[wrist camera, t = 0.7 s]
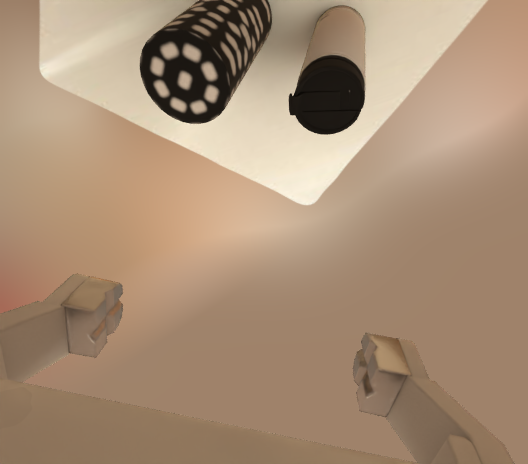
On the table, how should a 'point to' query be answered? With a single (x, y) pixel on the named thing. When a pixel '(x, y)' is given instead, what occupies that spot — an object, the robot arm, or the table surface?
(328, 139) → the table surface
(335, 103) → the travel mug
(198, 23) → the spotted tube
